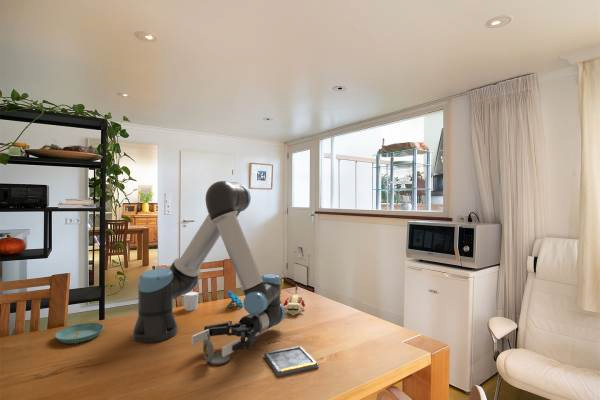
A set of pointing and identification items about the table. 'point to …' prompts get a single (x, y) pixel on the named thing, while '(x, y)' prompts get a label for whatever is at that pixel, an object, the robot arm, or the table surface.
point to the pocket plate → (290, 361)
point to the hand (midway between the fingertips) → (207, 346)
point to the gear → (234, 299)
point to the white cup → (191, 301)
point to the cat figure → (294, 304)
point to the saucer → (85, 332)
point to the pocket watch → (210, 355)
